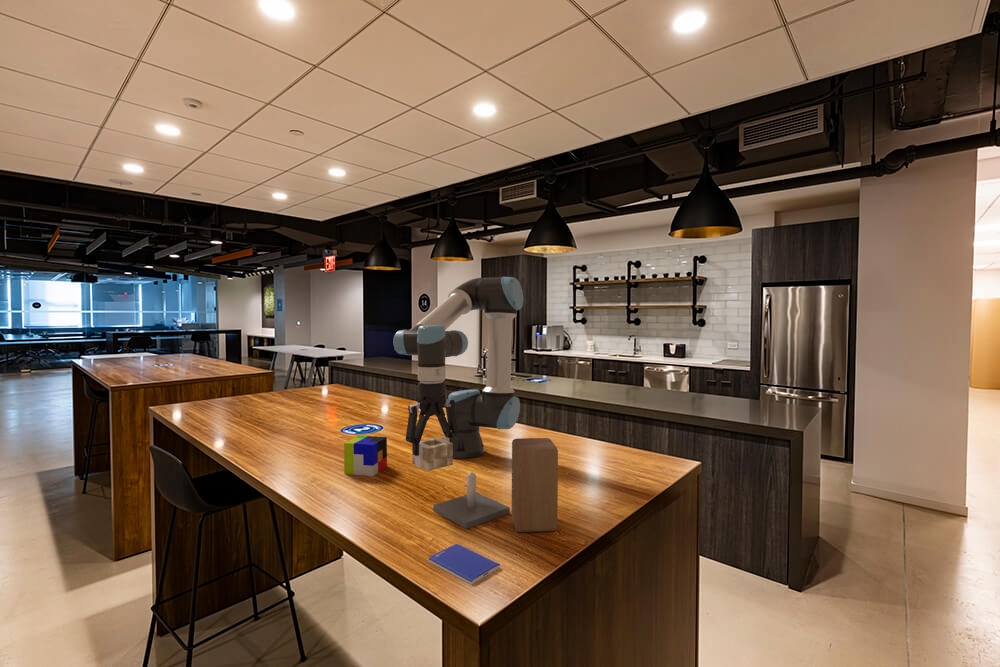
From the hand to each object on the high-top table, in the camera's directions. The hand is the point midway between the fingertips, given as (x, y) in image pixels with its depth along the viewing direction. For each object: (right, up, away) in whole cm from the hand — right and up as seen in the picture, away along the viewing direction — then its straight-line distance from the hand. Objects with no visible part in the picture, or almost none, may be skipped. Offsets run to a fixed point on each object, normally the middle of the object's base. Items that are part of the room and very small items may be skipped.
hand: (432, 463), depth 130 cm
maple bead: (0, 0, 0) cm, 0 cm away
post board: (+11, -10, -9) cm, 17 cm away
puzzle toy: (-25, -9, +24) cm, 36 cm away
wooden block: (+27, -11, -15) cm, 33 cm away
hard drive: (+11, -12, -35) cm, 38 cm away
